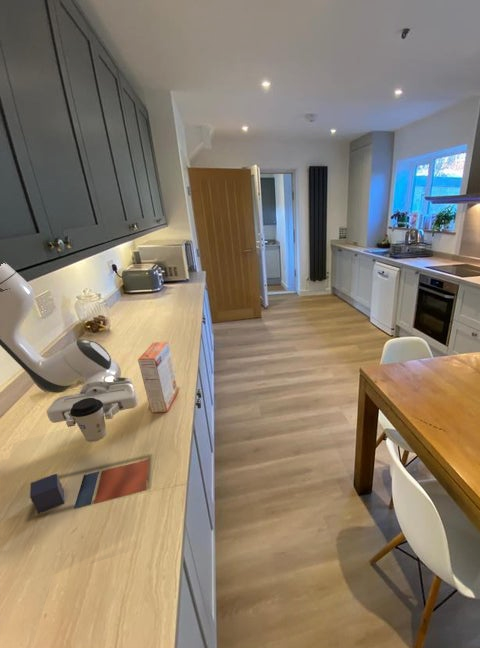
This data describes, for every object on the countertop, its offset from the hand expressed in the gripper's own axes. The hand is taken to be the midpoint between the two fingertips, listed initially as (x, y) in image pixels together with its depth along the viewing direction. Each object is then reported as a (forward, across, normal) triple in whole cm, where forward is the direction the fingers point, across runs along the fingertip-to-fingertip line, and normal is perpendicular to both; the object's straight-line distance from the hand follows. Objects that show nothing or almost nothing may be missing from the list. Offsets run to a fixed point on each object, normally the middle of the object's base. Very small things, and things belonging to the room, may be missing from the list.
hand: (89, 420), depth 79 cm
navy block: (+7, -10, +16) cm, 21 cm away
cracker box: (-31, +15, +17) cm, 38 cm away
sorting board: (+5, -2, +17) cm, 18 cm away
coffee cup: (-1, 0, +6) cm, 6 cm away
